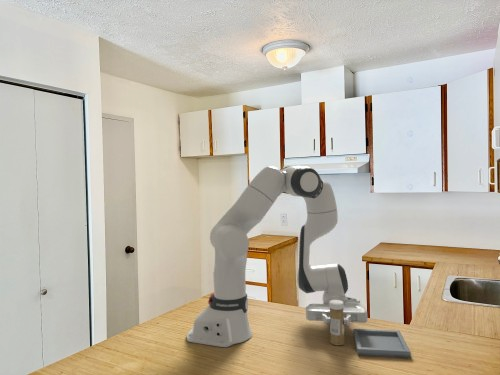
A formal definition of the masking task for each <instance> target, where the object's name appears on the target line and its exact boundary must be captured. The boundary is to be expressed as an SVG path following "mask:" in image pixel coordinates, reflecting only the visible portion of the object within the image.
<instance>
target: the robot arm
mask: <svg viewBox="0 0 500 375" xmlns="http://www.w3.org/2000/svg"><path fill="white" fill-rule="evenodd" d="M282 194H287V195H291V196H294V197H301V198H303V199H304V201H305V204H306V214H307V217H306V221H305V222H304V223H305V224H303V225H302V226H301V228H300V232H299V251H298V252H299V253H298V257H299V258H298V268H297V269H298V270H297V275H296V283H297V285H298V286H297V287H298V289H300V290H301V291H302V292H303V293H305V294H312V293H317V292H323V293H322V303H310V304H308V305H307V306H306V307H305V318H306V320H308V321H313V322H314V321H315V322H316V321H317V322H325V325H330V307H329V302H330V301H331V300H340V301H343V303H344V308H343V320H344V326H349V324H350V323H360V324H361V323H362V324H365V323H367V322H368V311H367V308H366V307H365V305H364V304H362V303H361V300H360V299H359V298H353V297H348V296H347V295H346V294H347V292H348V291H349V282H348V277H347V273H346V270H345V268H344V267H343V266H342V265H340V264H339V263H327V264H319V265H311V264H310V254H311V253H310V249H311V246H312V243H313V242H315V241H316V240H318V239H319V238H322V237H324V236H326V235H327V234H329V233H330V232H331V231H333V230H334V229H335V227H336V226H337V224H338V217H339V216H338V208H337V201H336V196H335V193H334V191H333V187H332V185H331V184H330V183H329V182H328V181H326V180H322V178H321V176H320V174H319V173H318V172H317V171H316V170H315V169H314V168H312V167H309V166H307V165H306V166H302V165H289V166H288V165H287V166H285V167H283V168H280V169H279V168H277V167H275V166H271V165H267V166H265V167H263V168H262V170H261V169H260V171H259V172H258V173H257V174H256V175H255V176H254V177H253V179H252V180H251V181H250V182H249V184H248V185H247V186H246V188H245V189H244V191H242V193H241V195H240V196H239V197H238V198H237V200H236V201H235V202H234V204H233V205H232V206H231V207H230V208H229V210H227V211H226V212H225V214H224V215H223V216H222V217H221V218H220V219H219V220H218V222H217V223H216V224H215V225H214V226H213V227H212V228H211V229H210V234H209V240H210V244H211V246H212V247H213V249H214V267H213V274H212V275H213V292H212V293H210V296H209V297H208V300H207V304H208V306H206V308H204V309H203V310H202V311H201V312H200V313H199V314H198V315H197V316H196V317H195V320H194V322H193V326H192V328H191V329H189V331H188V332H187V334H186V341H187V342H188V343H194V344H201V345H208V346H215V347H219V348H220V347H221V348H228V347H231V346H232V345H236V344H241V343H244V342H246V341H248V340H249V339H251V337H252V335H253V332H252V330H251V326H250V321H249V314H248V309H249V302H248V299H249V298H248V294H247V289H246V287H247V286H246V284H247V283H246V268H247V261H248V251H249V246H250V241H249V237H248V233H250V231H252V229H254V228H255V227H256V226H257V225H258V224H260V223H261V221H263V219H264V218H265V216H266V215H267V213H268V212H269V210H271V207H272V206H273V205H274V203H275V202H276V200H277V199H278V197H279V196H281V195H282Z"/></svg>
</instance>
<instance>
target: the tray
mask: <svg viewBox="0 0 500 375" xmlns="http://www.w3.org/2000/svg"><path fill="white" fill-rule="evenodd" d="M352 332H353V339H354V344H355V349H356V354H357V356H359V357H360V356H362V357H363V356H364V357H378V358H379V357H382V358H399V359H411V357H412V356H411V350H410V348H409V346H408V344H407V341H406V340H405V338H404V336H403V335H402V333H401V331H400V330H395V329H394V330H389V329H369V328H353V329H352Z"/></svg>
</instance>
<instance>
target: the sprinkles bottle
mask: <svg viewBox="0 0 500 375" xmlns="http://www.w3.org/2000/svg"><path fill="white" fill-rule="evenodd" d="M329 307H330V324H329V331H330V333H329V334H330V341H329V342H330V343H331V344H332V345H335V346H342V345H344V344H345V325H344V320H343V308H344V303H343V301H340V300H331V301H330V302H329Z"/></svg>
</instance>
